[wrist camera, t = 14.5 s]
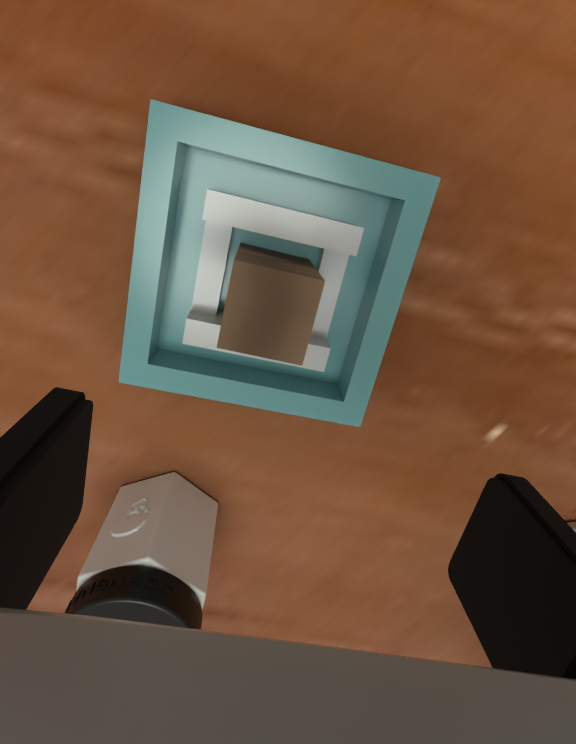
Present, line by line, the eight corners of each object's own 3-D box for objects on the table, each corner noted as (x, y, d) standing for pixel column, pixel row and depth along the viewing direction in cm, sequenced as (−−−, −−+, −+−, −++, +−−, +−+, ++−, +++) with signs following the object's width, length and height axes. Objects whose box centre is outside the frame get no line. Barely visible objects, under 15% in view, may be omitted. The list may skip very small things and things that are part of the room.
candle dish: (418, 179, 29) (444, 177, 25) (349, 402, 35) (361, 430, 31) (165, 112, 27) (148, 97, 23) (134, 360, 33) (116, 385, 28)
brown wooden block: (308, 259, 30) (325, 281, 22) (292, 324, 31) (302, 365, 24) (240, 242, 29) (234, 259, 22) (227, 310, 31) (216, 347, 23)
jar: (201, 460, 36) (174, 581, 25) (233, 539, 39) (223, 678, 28) (93, 490, 36) (19, 621, 25) (134, 566, 39) (84, 714, 28)
